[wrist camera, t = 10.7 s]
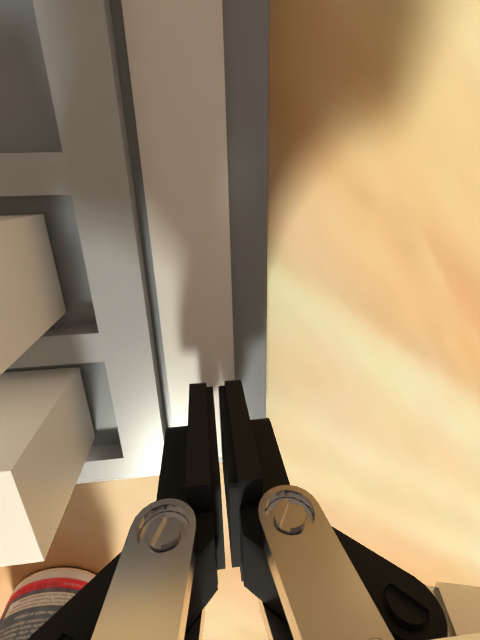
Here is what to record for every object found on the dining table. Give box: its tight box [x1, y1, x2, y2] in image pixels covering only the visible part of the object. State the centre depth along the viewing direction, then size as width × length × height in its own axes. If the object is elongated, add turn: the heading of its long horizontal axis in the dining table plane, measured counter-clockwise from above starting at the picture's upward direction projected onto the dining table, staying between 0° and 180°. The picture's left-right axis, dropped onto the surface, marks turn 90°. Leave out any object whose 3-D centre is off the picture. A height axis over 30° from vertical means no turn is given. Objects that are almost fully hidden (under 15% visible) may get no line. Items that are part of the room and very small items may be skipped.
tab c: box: [0, 367, 95, 567], centre depth 9 cm, size 3×3×5 cm
